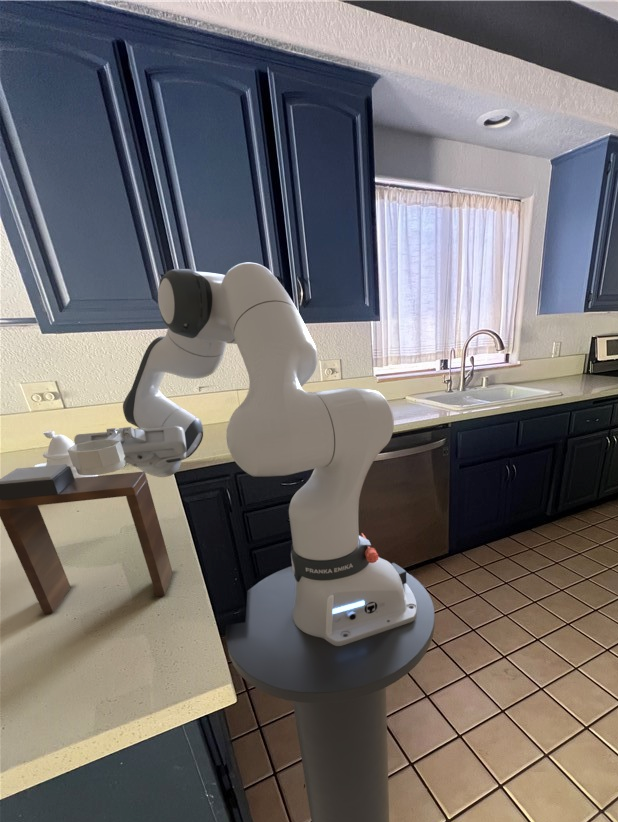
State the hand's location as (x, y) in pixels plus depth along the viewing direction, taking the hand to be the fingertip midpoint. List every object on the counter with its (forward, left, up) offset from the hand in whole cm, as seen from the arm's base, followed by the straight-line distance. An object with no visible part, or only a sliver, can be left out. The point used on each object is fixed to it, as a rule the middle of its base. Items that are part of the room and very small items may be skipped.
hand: (119, 431), depth 81 cm
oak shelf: (+5, +12, -28) cm, 31 cm away
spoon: (+36, -73, -28) cm, 86 cm away
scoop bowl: (0, +7, -3) cm, 7 cm away
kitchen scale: (+10, +13, -6) cm, 17 cm away
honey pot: (+33, -52, -28) cm, 67 cm away
